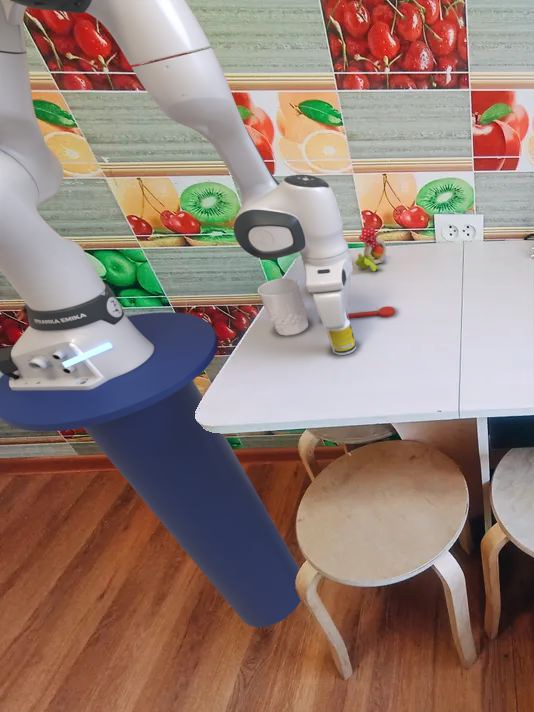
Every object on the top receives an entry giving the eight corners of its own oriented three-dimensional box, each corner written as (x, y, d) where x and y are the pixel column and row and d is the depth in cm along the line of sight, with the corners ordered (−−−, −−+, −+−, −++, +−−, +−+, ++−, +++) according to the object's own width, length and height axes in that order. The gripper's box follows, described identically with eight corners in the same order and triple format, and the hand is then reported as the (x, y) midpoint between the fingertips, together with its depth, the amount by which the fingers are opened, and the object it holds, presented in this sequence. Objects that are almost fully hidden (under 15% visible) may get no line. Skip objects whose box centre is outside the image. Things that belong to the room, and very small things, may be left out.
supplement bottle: (360, 349, 96) (351, 313, 91) (340, 358, 94) (329, 322, 88) (349, 340, 99) (339, 305, 93) (328, 349, 96) (317, 313, 91)
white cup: (278, 341, 98) (261, 299, 92) (270, 325, 104) (254, 284, 97) (315, 330, 102) (302, 289, 95) (306, 314, 107) (292, 274, 101)
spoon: (323, 323, 104) (322, 320, 103) (325, 315, 107) (324, 312, 106) (395, 316, 106) (394, 313, 106) (394, 308, 109) (394, 305, 108)
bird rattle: (372, 268, 130) (349, 267, 122) (375, 227, 127) (352, 224, 119) (390, 272, 128) (368, 272, 120) (394, 231, 125) (371, 228, 117)
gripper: (318, 244, 98) (334, 302, 107) (304, 289, 83) (324, 352, 92) (348, 242, 99) (362, 299, 108) (340, 285, 84) (357, 348, 93)
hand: (344, 324), depth 100 cm, fingers closed
